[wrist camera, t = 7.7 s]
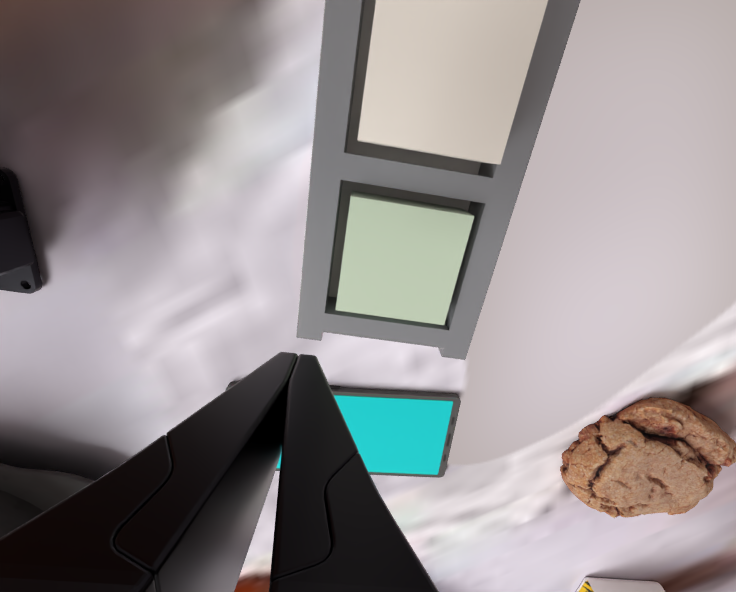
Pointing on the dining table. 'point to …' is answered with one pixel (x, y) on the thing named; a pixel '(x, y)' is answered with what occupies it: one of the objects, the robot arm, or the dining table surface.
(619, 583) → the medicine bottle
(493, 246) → the keypad
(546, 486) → the dining table surface
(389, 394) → the smartphone
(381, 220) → the sage key
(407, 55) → the cream key
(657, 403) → the cookie
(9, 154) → the dining table surface
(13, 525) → the casserole
